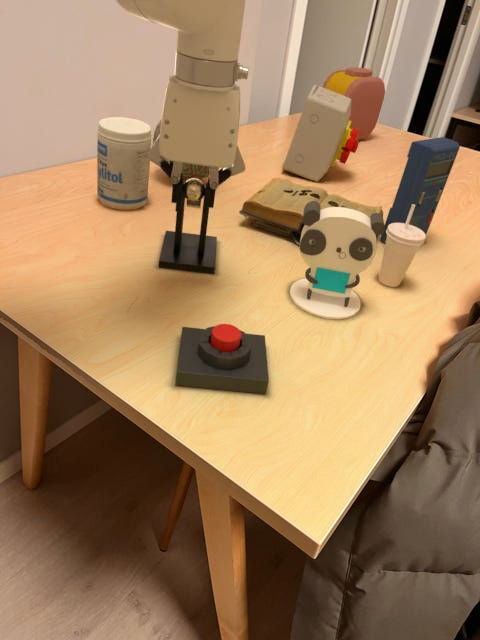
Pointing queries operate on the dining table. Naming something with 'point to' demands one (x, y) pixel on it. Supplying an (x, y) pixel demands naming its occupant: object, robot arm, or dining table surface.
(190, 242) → the switch bracket
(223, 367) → the push button box
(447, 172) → the electronic device
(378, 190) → the dining table surface
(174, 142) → the robot arm
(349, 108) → the electrical switch box
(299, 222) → the book
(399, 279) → the smoothie
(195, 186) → the lever
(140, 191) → the supplement tub
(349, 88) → the alarm clock
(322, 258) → the panda figurine
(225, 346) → the stop button
